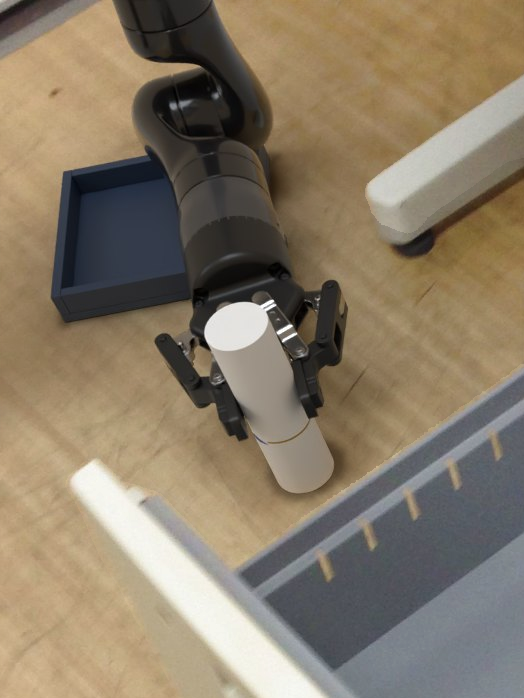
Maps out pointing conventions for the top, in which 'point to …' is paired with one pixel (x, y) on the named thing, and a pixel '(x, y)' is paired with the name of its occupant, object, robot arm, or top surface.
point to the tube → (269, 396)
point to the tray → (119, 240)
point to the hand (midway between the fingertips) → (275, 420)
